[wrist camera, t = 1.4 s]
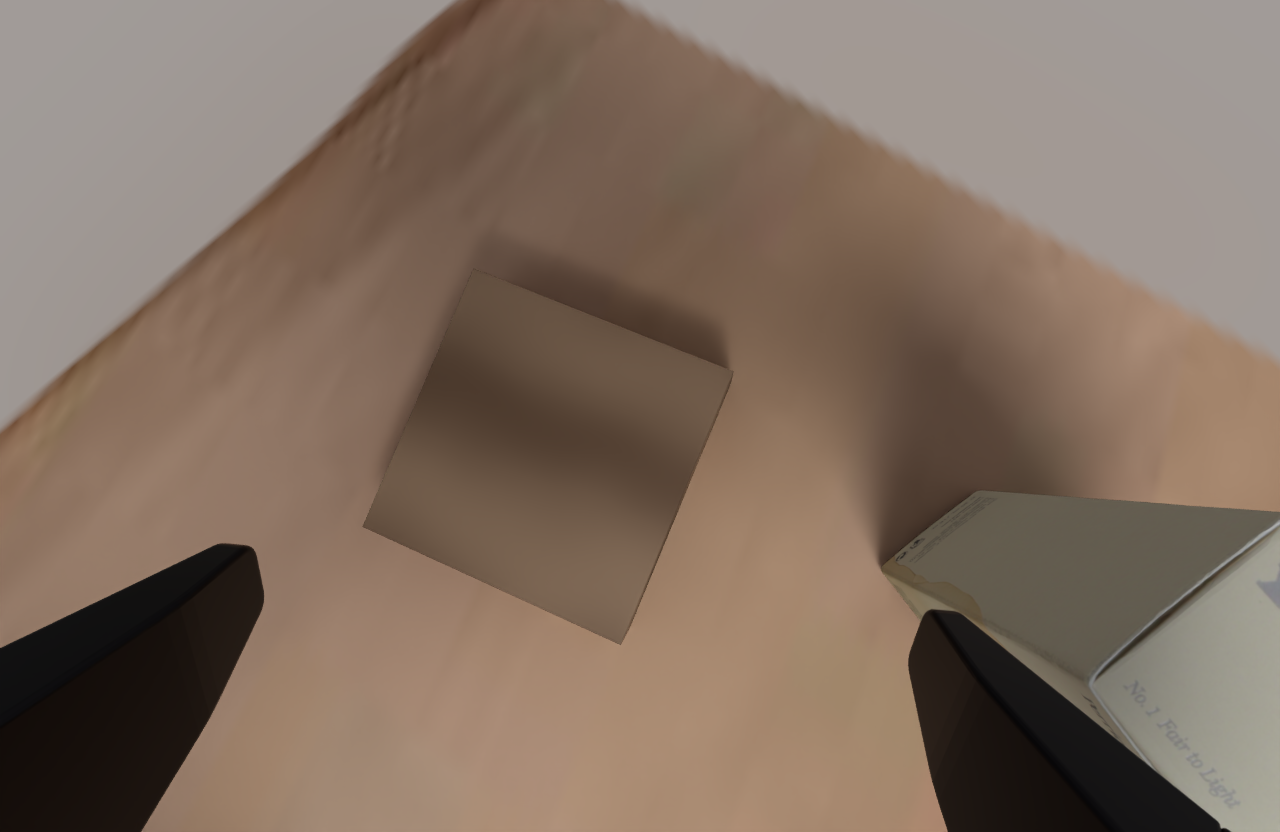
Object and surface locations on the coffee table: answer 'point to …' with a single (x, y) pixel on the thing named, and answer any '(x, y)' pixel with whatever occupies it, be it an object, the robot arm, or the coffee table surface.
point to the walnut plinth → (549, 454)
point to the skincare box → (1130, 626)
